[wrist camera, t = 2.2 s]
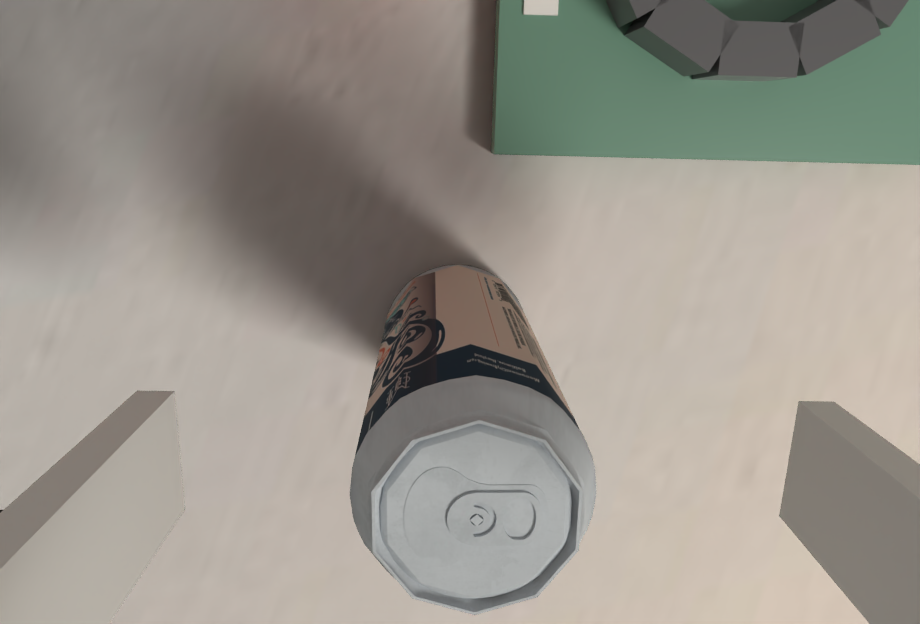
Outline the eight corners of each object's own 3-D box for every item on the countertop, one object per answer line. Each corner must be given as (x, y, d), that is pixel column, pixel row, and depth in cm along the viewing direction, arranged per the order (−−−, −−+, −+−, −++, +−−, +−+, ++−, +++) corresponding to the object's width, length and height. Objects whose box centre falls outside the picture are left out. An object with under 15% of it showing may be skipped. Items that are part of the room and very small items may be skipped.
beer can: (385, 260, 23) (339, 397, 12) (527, 261, 24) (618, 397, 12) (387, 394, 25) (347, 635, 13) (521, 394, 25) (599, 632, 13)
